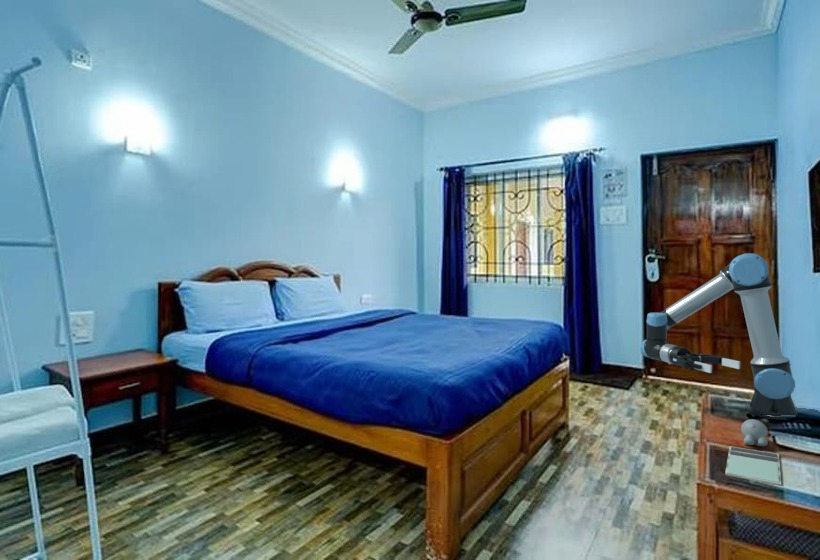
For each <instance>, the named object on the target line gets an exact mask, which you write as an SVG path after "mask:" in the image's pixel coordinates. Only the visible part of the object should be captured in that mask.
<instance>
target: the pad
mask: <svg viewBox="0 0 820 560" xmlns="http://www.w3.org/2000/svg"><path fill="white" fill-rule="evenodd" d="M727 473H728V474H733V475H739V476H744V477H750V478H755V479H761V480H766V481H772V482H777V483H779V477H778V463H777V462H771V461H765V460H759V459H752V458H746V457H740V456H734V455H730V458H729V465H728V471H727Z"/></svg>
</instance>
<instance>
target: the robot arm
mask: <svg viewBox="0 0 820 560" xmlns="http://www.w3.org/2000/svg"><path fill="white" fill-rule="evenodd" d="M769 268H770V267H769V264H768V262H767V261H766V260H765V258H764V257H762V256H760V255H758V254H756V253H751V252H748V253H747V252H746V253H742V254H739V255H737V256H736V257H735V258H733V259H732V260H731V261H730V263H729V264H728V265H727V266H725V267H723V268H722V269H721V270H720V271H719V274H718V275H716V276H715V277H713V278H712V279H710V280H708V281H707V282H705V283H704V284H702V285H700V286H699V287H698V288H696V289H694V290H693V291H692V292H690V293H688V294H686V295H685V296H683V297H682V298H680V299H679V300H677V301H676V302H674V303H673V304H671V305H670V306H668V307H666V308H665V309H664V310H662V311H660V312H649V313H647V316H646V320H645V321H646V339H644V340H642V341H641V344H640V345H639V351H640V354H641V355H642V356H644V357H646V358H649V359H652V360H657V361H661V362H665V363H668V365H676V366H679V367H681V368H683V369H686V370H687V369H689V370H688V371H694V370H697V371H701V372H705V373H708V374H712V373H713V364H715V365H721V366H722V367H723V366H724V367H727V368H733V369H736V370H741V361H739V360H735V359H731V358H730V359H729V358H728V357H727V356H725V354H724V355H716V354H706V353H701V352H699V353H698V352H697V353H695V352H690V350H689V348H686V347H684V346H680V345H679V346H678V345H675V344H670V343H667V339H668V338H667V335H668V334H667V333H668V330H670V329H671V328H672V327H675V326H676V325H677V324H679V323H681V322H682V321H683V320H686V319H687V318H688V317H690V316H692V315H694V314H695V313H696V312H698V311H700V310H701V309H703V308H704V307H706V306H708V305H710V304H711V303H713V302H714V301H715V300H717V299H719V298H721V297H722V296H724V295H726V294H728V293H729V292H730V291H732V290H733V291H734V293H736V294H737V295H739V296H740V300H741V305H742V308H743V309H742V310H743V313H744V318H745V324H746V327H747V332H748V336H749V341H750V344H751V348H752V349H751V350H752V355H753V357H752V359H750V360H751V361H749V362H750V366H751V371H752V376H753V395H752V398H751V401H750V404H749V406H748V407H749V412H750V414H752V415H754V416H757V417H761V418H764V419H771V420H779V421H780V420H782V421H784V420H785V421H787V420H788V419H786V418H781V417H770V416H764V415H772V416H781V415H795V414H797V415H798V410H797V408H796V405H795V403H794V401H793V398H792V394H793V392H794V390H795V388H796V381H795V378H794V377H793V373H792V369H791V362H790V361H791V360H790V359H789V358H788V357H785V356H784V355H783V352H782V347H781V343H780V339H779V336H778V331H777V327H776V322H775V318H774V317H775V316H774V312H773V309H772V306H771V301H770V300H771V299H770V296H769V290H770V289H771V288H772V281H771V277H770V274H769V273H770V272H769ZM761 414H762V415H761Z"/></svg>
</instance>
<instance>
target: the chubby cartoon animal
mask: <svg viewBox="0 0 820 560" xmlns="http://www.w3.org/2000/svg"><path fill="white" fill-rule="evenodd" d="M740 431H741V434H742V435H743V437H744V438H743V444H744V445H747V446H753V445H756V446H757V447H766V446H768V440H767V436H768V433H769V432H768V428H767V427H766V425H765V424H764V423H763V422H762V421H760V420H758V419H753V418H750V419H746V420H745V421H744V422H742V424H741V427H740Z"/></svg>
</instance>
